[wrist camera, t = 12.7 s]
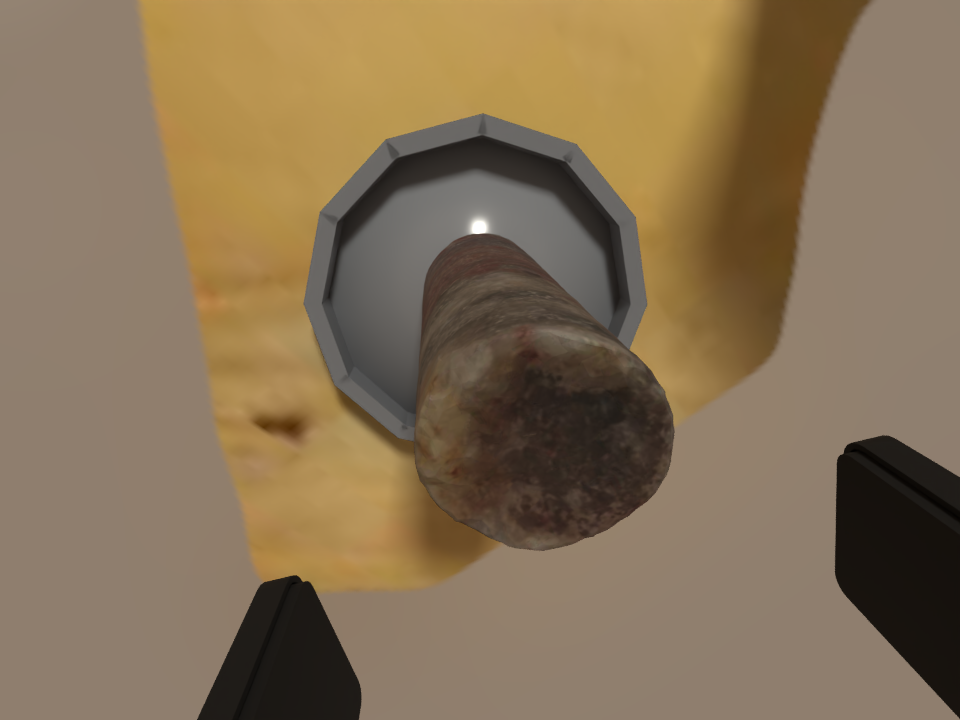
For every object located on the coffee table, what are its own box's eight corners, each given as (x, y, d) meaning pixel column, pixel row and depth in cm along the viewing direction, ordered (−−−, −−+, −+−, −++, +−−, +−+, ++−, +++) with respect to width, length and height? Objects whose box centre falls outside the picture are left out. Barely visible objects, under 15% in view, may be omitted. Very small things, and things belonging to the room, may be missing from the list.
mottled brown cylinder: (558, 319, 33) (713, 505, 14) (459, 368, 33) (478, 608, 15) (509, 210, 30) (616, 259, 11) (402, 266, 31) (337, 398, 12)
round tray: (600, 87, 29) (617, 77, 26) (644, 390, 36) (661, 408, 33) (272, 175, 30) (254, 174, 27) (377, 458, 36) (371, 482, 34)
